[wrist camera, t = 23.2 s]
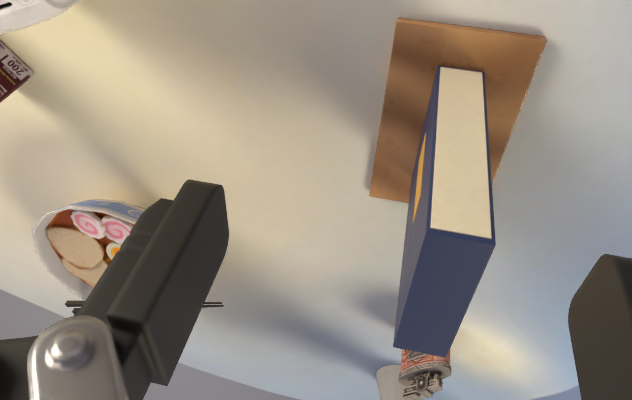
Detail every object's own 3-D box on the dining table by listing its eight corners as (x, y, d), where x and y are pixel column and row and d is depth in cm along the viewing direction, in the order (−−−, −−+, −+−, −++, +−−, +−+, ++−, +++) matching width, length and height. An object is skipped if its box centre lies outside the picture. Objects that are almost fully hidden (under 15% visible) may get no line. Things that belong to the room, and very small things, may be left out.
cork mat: (397, 17, 42) (396, 21, 42) (545, 36, 41) (546, 40, 40) (369, 191, 56) (369, 196, 56) (479, 210, 55) (480, 215, 54)
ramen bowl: (186, 157, 58) (155, 206, 53) (254, 282, 73) (236, 331, 67) (24, 174, 67) (-18, 218, 61) (114, 284, 81) (87, 327, 75)
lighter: (441, 313, 68) (439, 381, 61) (457, 325, 70) (457, 394, 63) (397, 330, 73) (390, 395, 66) (412, 341, 75) (407, 407, 68)
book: (446, 358, 38) (497, 244, 29) (392, 347, 38) (425, 231, 29) (450, 184, 52) (485, 70, 43) (411, 177, 53) (437, 64, 43)
